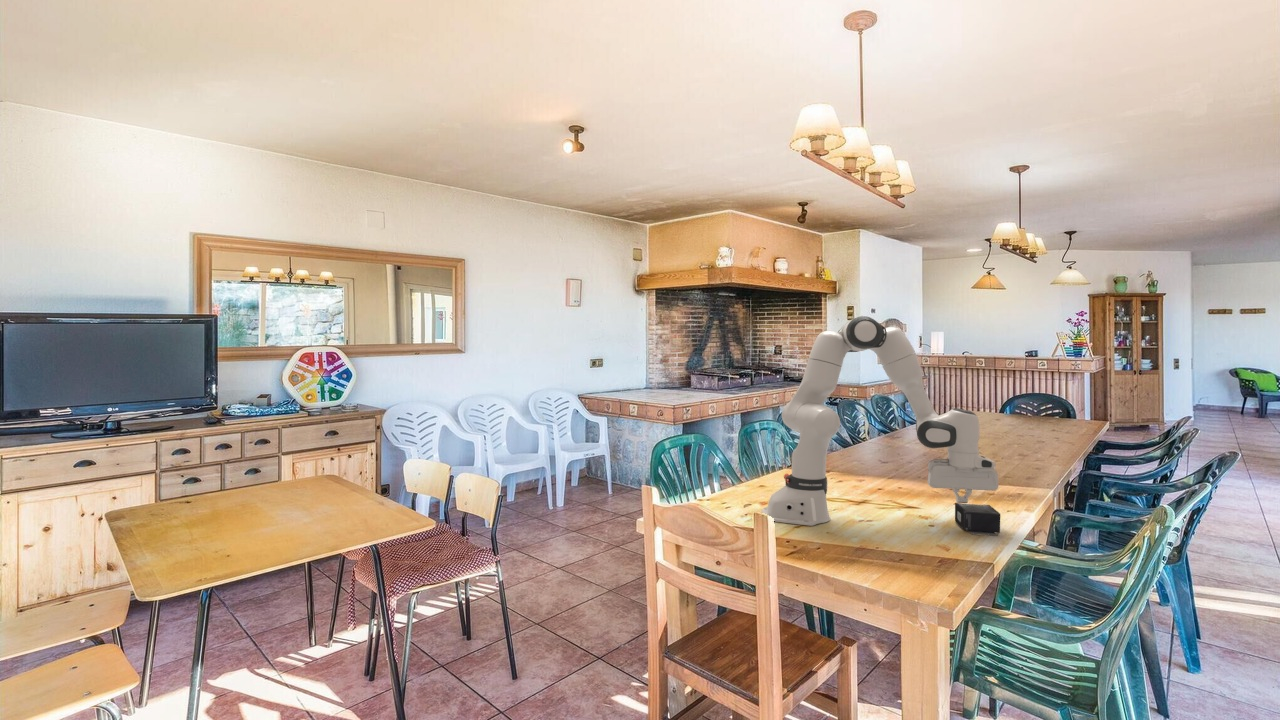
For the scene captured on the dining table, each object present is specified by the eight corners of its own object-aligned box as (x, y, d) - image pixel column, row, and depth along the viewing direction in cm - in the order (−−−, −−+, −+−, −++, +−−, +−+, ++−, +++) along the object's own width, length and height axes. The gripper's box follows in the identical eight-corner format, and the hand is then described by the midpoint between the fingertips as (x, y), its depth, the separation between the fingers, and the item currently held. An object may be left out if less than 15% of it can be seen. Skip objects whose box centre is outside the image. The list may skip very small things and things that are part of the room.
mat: (971, 534, 189) (971, 533, 189) (957, 521, 201) (957, 520, 201) (997, 535, 187) (997, 535, 187) (982, 523, 200) (982, 522, 200)
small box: (963, 532, 190) (1001, 533, 188) (963, 511, 190) (1001, 513, 188) (954, 522, 201) (989, 523, 198) (954, 502, 200) (989, 503, 198)
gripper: (930, 460, 193) (929, 503, 194) (1001, 463, 189) (1000, 507, 190) (925, 456, 199) (924, 498, 200) (993, 459, 196) (992, 501, 196)
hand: (961, 502), depth 195 cm, fingers closed
